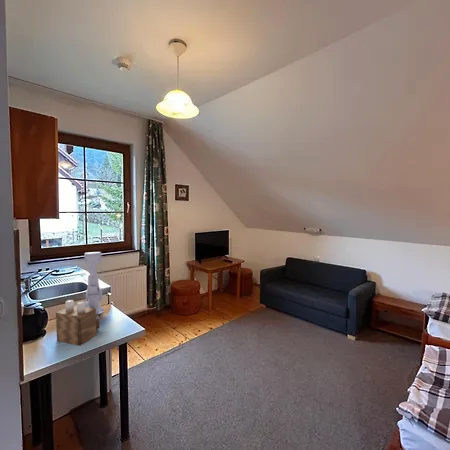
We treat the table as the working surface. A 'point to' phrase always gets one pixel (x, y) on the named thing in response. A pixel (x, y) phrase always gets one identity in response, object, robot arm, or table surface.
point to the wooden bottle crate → (76, 326)
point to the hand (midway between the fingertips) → (94, 326)
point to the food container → (97, 322)
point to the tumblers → (79, 306)
